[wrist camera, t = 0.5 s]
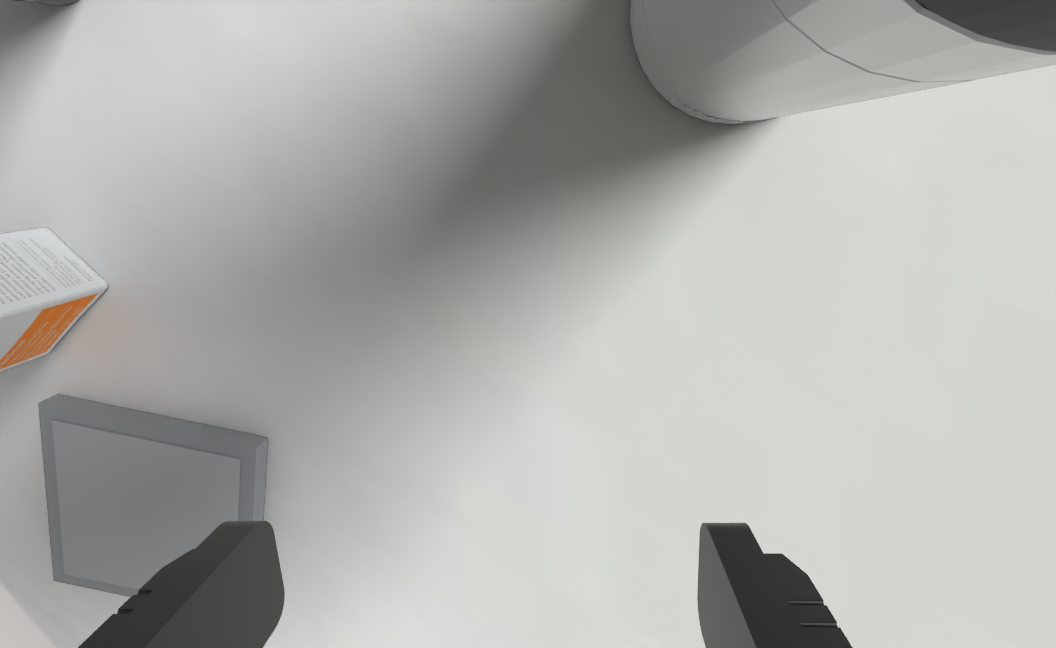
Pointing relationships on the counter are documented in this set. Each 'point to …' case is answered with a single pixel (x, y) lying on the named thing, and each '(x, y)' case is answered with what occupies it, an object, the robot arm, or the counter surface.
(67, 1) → the beverage cup
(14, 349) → the skincare box
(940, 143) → the counter surface
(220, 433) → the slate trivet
